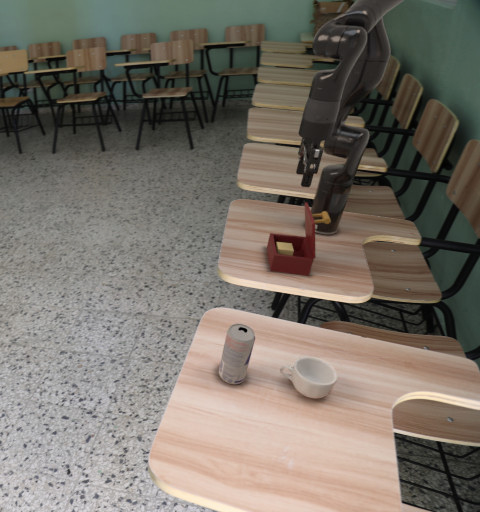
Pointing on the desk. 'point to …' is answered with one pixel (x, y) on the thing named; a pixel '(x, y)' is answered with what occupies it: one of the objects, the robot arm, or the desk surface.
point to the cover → (313, 226)
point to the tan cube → (284, 248)
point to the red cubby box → (287, 263)
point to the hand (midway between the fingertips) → (302, 180)
